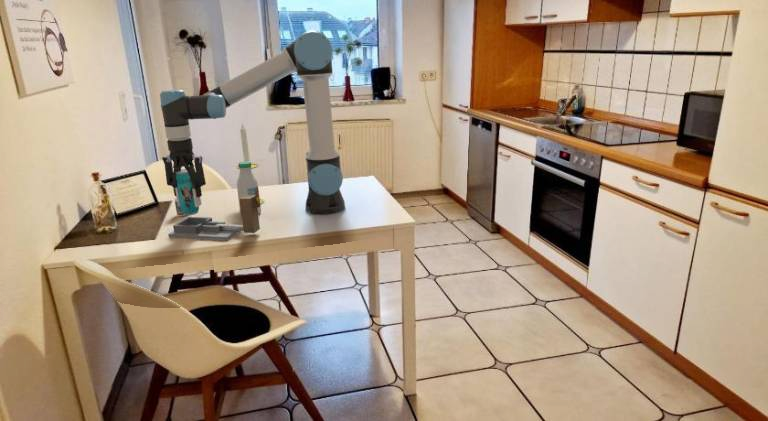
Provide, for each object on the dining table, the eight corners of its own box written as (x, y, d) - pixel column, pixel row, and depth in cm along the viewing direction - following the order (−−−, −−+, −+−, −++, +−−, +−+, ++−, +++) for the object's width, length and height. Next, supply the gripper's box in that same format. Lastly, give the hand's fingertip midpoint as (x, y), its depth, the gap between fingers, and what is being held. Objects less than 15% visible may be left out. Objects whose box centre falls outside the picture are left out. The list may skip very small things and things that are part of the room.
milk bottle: (243, 218, 187) (236, 166, 181) (238, 212, 194) (231, 161, 187) (263, 214, 191) (257, 163, 184) (258, 209, 197) (252, 159, 191)
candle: (268, 203, 204) (259, 123, 194) (244, 208, 199) (233, 126, 188) (259, 197, 212) (250, 120, 202) (236, 202, 207) (225, 123, 196)
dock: (244, 227, 177) (243, 217, 176) (227, 240, 166) (226, 229, 165) (188, 225, 182) (187, 215, 181) (168, 237, 171) (166, 226, 170)
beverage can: (182, 216, 169) (175, 173, 164) (181, 212, 174) (174, 170, 169) (200, 214, 171) (193, 171, 167) (199, 209, 176) (192, 168, 172)
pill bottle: (186, 216, 191) (182, 194, 188) (174, 216, 192) (170, 194, 189) (194, 212, 196) (190, 190, 193) (182, 211, 197) (178, 190, 194)
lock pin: (259, 228, 171) (255, 195, 168) (254, 233, 168) (250, 198, 164) (220, 226, 175) (215, 193, 171) (214, 231, 171) (208, 197, 167)
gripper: (211, 136, 166) (220, 203, 173) (161, 136, 170) (172, 201, 177) (198, 140, 159) (208, 210, 166) (146, 140, 163) (158, 207, 170)
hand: (189, 205), depth 172 cm, fingers closed on beverage can, 6 cm apart
